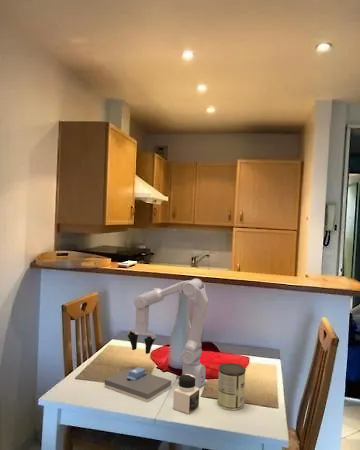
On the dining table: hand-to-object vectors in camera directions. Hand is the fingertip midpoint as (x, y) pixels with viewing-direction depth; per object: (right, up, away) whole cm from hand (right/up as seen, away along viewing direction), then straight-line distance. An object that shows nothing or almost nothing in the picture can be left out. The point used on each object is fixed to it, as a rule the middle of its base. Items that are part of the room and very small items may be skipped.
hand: (140, 351), depth 184 cm
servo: (-1, -9, -11) cm, 14 cm away
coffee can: (+37, -12, -27) cm, 47 cm away
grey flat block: (0, -10, -15) cm, 18 cm away
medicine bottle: (+20, -12, -31) cm, 39 cm away
